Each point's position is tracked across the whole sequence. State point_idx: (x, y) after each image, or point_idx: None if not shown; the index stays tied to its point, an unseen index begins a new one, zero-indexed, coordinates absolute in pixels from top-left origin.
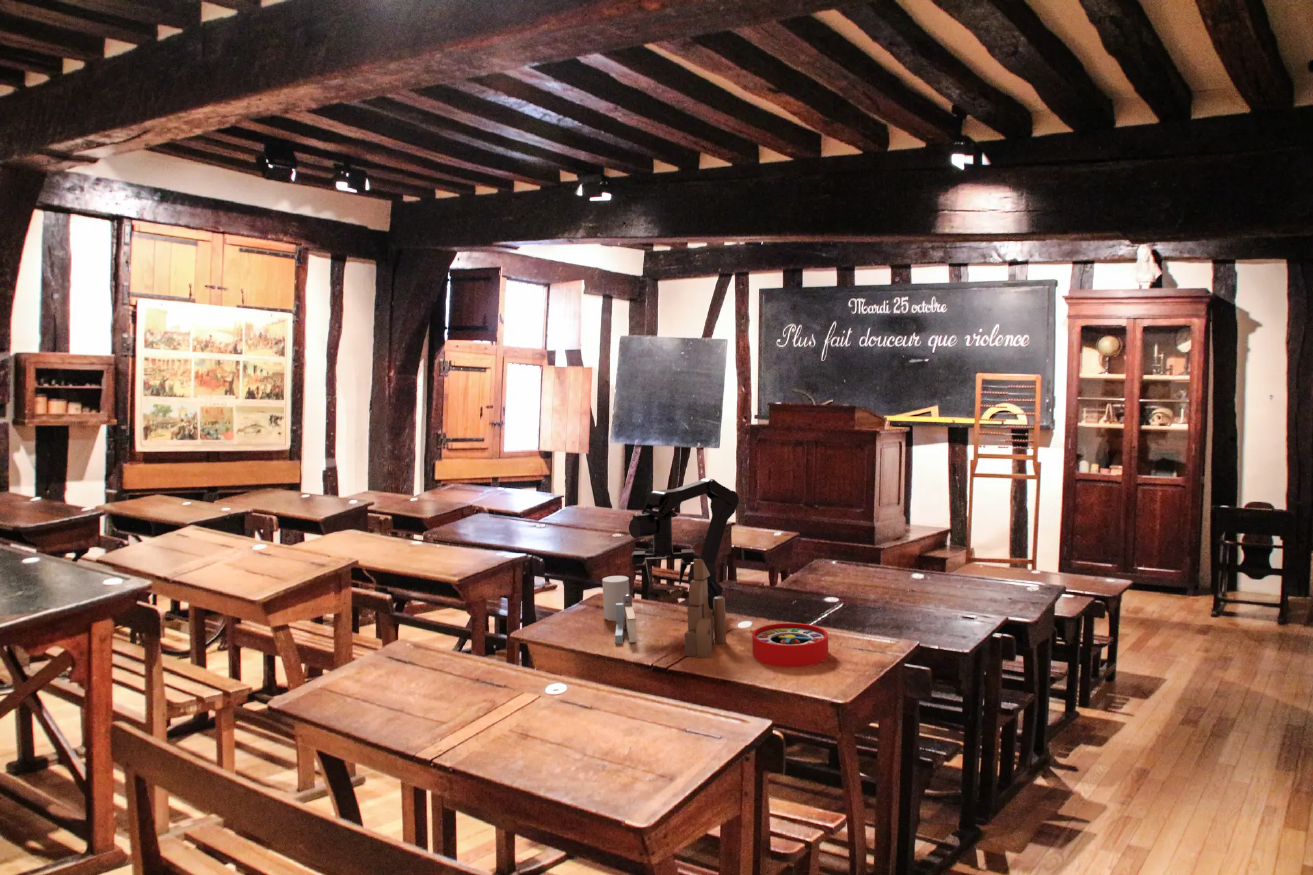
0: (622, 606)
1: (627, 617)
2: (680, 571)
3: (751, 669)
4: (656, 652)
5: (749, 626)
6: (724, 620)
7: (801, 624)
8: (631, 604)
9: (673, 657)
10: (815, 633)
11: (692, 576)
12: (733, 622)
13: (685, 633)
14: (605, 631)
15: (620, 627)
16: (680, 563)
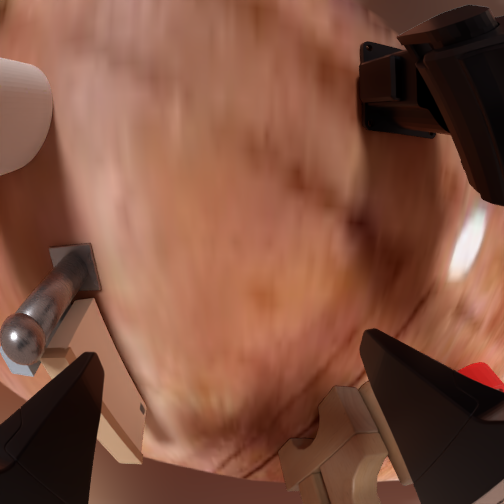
0: (35, 370)
1: (112, 455)
2: (407, 468)
3: None
4: (213, 444)
5: (469, 267)
6: None
7: (500, 388)
8: (50, 332)
9: (252, 457)
10: None
11: (493, 128)
12: (452, 225)
13: (288, 490)
14: (21, 300)
15: None
16: (495, 439)
